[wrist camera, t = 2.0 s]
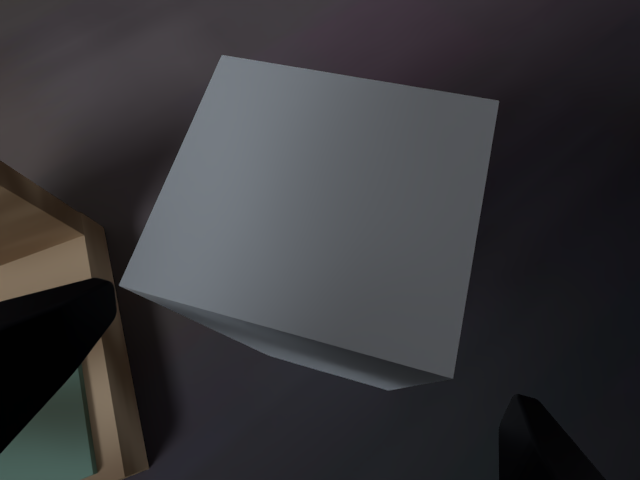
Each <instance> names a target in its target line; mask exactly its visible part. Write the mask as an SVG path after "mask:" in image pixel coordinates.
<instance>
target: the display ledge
mask: <svg viewBox="0 0 640 480" xmlns="http://www.w3.org/2000/svg"><path fill="white" fill-rule="evenodd" d="M90 278H101V279H104V280H108V281H110V282H112V283H113V285H114V280H113V274H112V269H111V264H110V258H109V253H108V248H107V242H106V237H105V232H104V227H102V226H101V225H99V224H98V223H96V222H95V221H93V220H92V219H90V218H89V217H87V216H86V215H84V214H83V213H81V212H77V211H76V210H74V209H73V208H71V207H70V206H68V205H67V204H65V203H64V202H62V201H61V200H59V199H58V198H56V197H55V196H53V195H52V194H50V193H49V192H47V191H45V190H44V189H42V188H41V187H39V186H38V185H36V184H35V183H33V182H32V181H30V180H29V179H27V178H26V177H24V176H23V175H21V174H20V173H18V172H17V171H15V170H14V169H12V168H11V167H9V166H8V165H6V164H5V163H3V162H2V161H0V301H4V300H8V299H12V298H16V297H20V296H24V295H28V294H32V293H36V292H39V291H43V290H47V289H51V288H55V287H59V286H63V285H67V284H71V283H75V282H79V281H82V280H86V279H90ZM114 288H115V285H114ZM115 297H116V306H117V313H116V317H115V319H114V321H113V322H112V323H111V325H110V326H109V327H108V329H107V330H106V331H105V333H104V334H103V335H102V337H101V338H100V339H99V341H98V342H97V343H96V345H95V346H94V347H93V349H92V350H91V351H90V353H89V354H88V355H87V357H86V358H85V359H84V361H83V362H82V363H81V365H80V366H79V367H78V368H77V370H76V371H75V372H74V373H73V375H72V376H71V377H70V378H69V379H68V380H67V381H66V383H65V384H64V385H63V386H62V387H61V388H60V389H59V390H58V391H57V392H56V394H55V395H54V396H53V397H52V398H51V399H50V400H49V401H48V402H47V403H46V404H45V406H44V407H43V408H42V409H41V410H40V411H39V412H38V413H37V414H36V415H35V417H34V418H33V419H32V420H31V421H30V422H29V423H28V424H27V425H26V426H25V428H24V429H23V430H22V431H21V432H20V433H19V434H18V435H17V436H16V437H15V438H14V440H13V441H12V442H11V443H10V444H9V445H8V446H7V447H6V448H5V449H4V451H3V452H2V453H1V454H0V480H122V479H124V478H127V477H129V476H132V475H134V474H137V473H139V472H142V471H144V470H147V469H149V465H148V460H147V455H146V449H145V444H144V439H143V433H142V428H141V423H140V418H139V412H138V407H137V402H136V396H135V391H134V386H133V380H132V375H131V370H130V365H129V359H128V354H127V349H126V343H125V338H124V333H123V327H122V322H121V317H120V311H119V306H118V301H117V296H116V290H115Z"/></svg>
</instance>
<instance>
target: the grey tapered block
mask: <svg viewBox="0 0 640 480" xmlns="http://www.w3.org/2000/svg"><path fill="white" fill-rule="evenodd" d="M498 105H499V101H498V100H492V99H486V98H480V97H473V96H467V95H461V94H455V93H449V92H443V91H437V90H431V89H425V88H419V87H413V86H407V85H401V84H395V83H389V82H382V81H376V80H370V79H364V78H358V77H352V76H346V75H340V74H334V73H328V72H322V71H316V70H310V69H304V68H297V67H291V66H285V65H279V64H273V63H267V62H261V61H255V60H249V59H243V58H237V57H231V56H225V55H222V56H221V58H220V61H219V63H218V65H217V67H216V69H215V72H214V74H213V76H212V78H211V81H210V83H209V85H208V87H207V90H206V92H205V94H204V96H203V98H202V101H201V103H200V105H199V107H198V110H197V112H196V114H195V116H194V119H193V121H192V123H191V125H190V127H189V130H188V132H187V134H186V136H185V139H184V141H183V143H182V145H181V148H180V150H179V152H178V154H177V156H176V159H175V161H174V163H173V165H172V168H171V170H170V172H169V174H168V177H167V179H166V181H165V183H164V185H163V188H162V190H161V192H160V194H159V197H158V199H157V201H156V203H155V206H154V208H153V210H152V212H151V214H150V217H149V219H148V221H147V223H146V226H145V228H144V230H143V232H142V235H141V237H140V239H139V241H138V244H137V246H136V248H135V250H134V252H133V255H132V257H131V259H130V261H129V264H128V266H127V268H126V270H125V273H124V275H123V277H122V279H121V281H120V284H119V286H120V287H122V288H125V289H127V290H129V291H131V292H133V293H135V294H137V295H140V296H142V297H144V298H146V299H148V300H150V301H153V302H155V303H157V304H159V305H161V306H163V307H165V308H168V309H170V310H172V311H174V312H176V313H178V314H181V315H183V316H185V317H187V318H189V319H191V320H193V321H196V322H198V323H200V324H202V325H204V326H206V327H208V328H211V329H213V330H215V331H217V332H219V333H221V334H224V335H226V336H228V337H230V338H232V339H234V340H236V341H239V342H241V343H243V344H245V345H247V346H249V347H251V348H254V349H256V350H258V351H260V352H262V353H264V354H267V355H269V356H271V357H275V358H278V359H282V360H285V361H289V362H292V363H296V364H299V365H302V366H306V367H309V368H313V369H316V370H320V371H323V372H327V373H330V374H333V375H337V376H340V377H344V378H347V379H351V380H354V381H357V382H361V383H364V384H368V385H371V386H375V387H378V388H382V389H385V390H388V391H389V390H394V389H400V388H405V387H411V386H416V385H422V384H427V383H433V382H438V381H444V380H449V379H453V375H454V369H455V363H456V357H457V351H458V345H459V339H460V333H461V327H462V321H463V315H464V309H465V303H466V297H467V291H468V285H469V279H470V273H471V267H472V261H473V255H474V249H475V243H476V237H477V231H478V225H479V219H480V213H481V207H482V201H483V195H484V189H485V183H486V177H487V171H488V165H489V159H490V153H491V147H492V141H493V135H494V129H495V123H496V117H497V111H498Z"/></svg>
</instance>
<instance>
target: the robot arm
mask: <svg viewBox="0 0 640 480" xmlns="http://www.w3.org/2000/svg"><path fill="white" fill-rule="evenodd" d="M116 313H117V306H116V297H115V288H114V285H113V283H112V282H110V281H108V280H104V279H101V278H90V279H86V280H82V281H79V282H75V283H71V284H67V285H63V286H59V287H55V288H51V289H47V290H43V291H39V292H36V293H32V294H28V295H24V296H20V297H16V298H12V299H8V300H4V301H0V454H1V453H2V452H3V451H4V449H5V448H6V447H7V446H8V445H9V444H10V443H11V442H12V441H13V440H14V438H15V437H16V436H17V435H18V434H19V433H20V432H21V431H22V430H23V429H24V428H25V426H26V425H27V424H28V423H29V422H30V421H31V420H32V419H33V418H34V417H35V415H36V414H37V413H38V412H39V411H40V410H41V409H42V408H43V407H44V406H45V404H46V403H47V402H48V401H49V400H50V399H51V398H52V397H53V396H54V395H55V394H56V392H57V391H58V390H59V389H60V388H61V387H62V386H63V385H64V384H65V383H66V381H67V380H68V379H69V378H70V377H71V376H72V375H73V373H74V372H75V371H76V370H77V368H78V367H79V366H80V365H81V363H82V362H83V361H84V359H85V358H86V357H87V355H88V354H89V353H90V351H91V350H92V349H93V347H94V346H95V345H96V343H97V342H98V341H99V339H100V338H101V337H102V335H103V334H104V333H105V331H106V330H107V329H108V327H109V326H110V325H111V323H112V322H113V321H114V319H115V317H116ZM499 480H606V479H605V478H604V477H603V476H602V475H601V473H600V472H599V471H598V470H597V469H596V468H595V466H594V465H593V464H592V463H591V462H590V460H589V459H588V458H587V457H586V456H585V455H584V453H583V452H582V451H581V450H580V449H579V447H578V446H577V445H576V444H575V443H574V442H573V440H572V439H571V438H570V437H569V436H568V434H567V433H566V432H565V431H564V430H563V429H562V427H561V426H560V425H559V424H558V423H557V421H556V420H555V419H554V418H553V417H552V416H551V414H550V413H549V412H548V411H547V410H546V408H545V407H544V406H543V405H542V404H541V403H540V402H539V401H538V400H537V399H535V398H531V397H528V396H524V395H520V394H516V395H514V396H513V397H512V399H511V401H510V403H509V405H508V408H507V410H506V412H505V414H504V416H503V418H502V420H501V423H500V427H499Z"/></svg>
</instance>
